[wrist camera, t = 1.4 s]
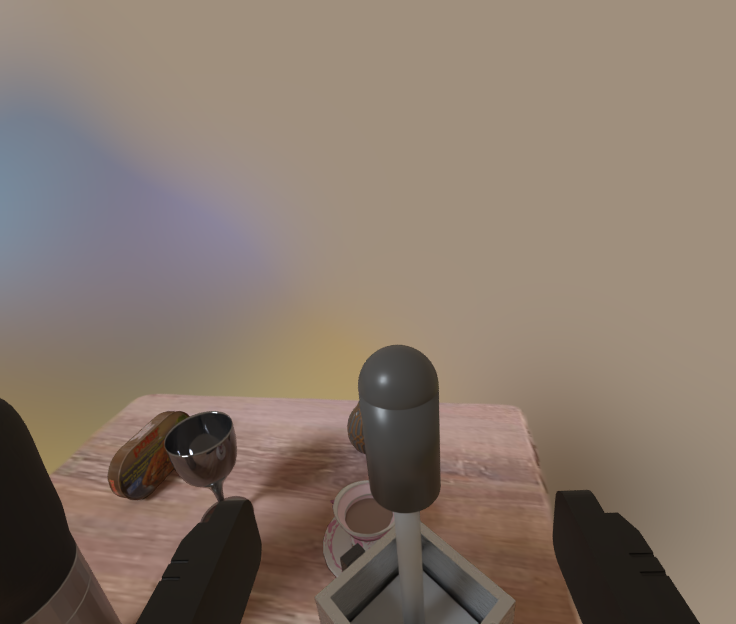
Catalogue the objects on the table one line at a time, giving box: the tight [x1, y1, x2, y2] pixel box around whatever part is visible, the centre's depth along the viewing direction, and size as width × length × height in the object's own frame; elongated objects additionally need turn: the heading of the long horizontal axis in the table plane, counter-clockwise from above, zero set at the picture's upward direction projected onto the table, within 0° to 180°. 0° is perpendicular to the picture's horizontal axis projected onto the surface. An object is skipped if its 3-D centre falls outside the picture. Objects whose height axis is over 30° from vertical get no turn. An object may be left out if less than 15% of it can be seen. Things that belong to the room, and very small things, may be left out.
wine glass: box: [164, 411, 253, 523], centre depth 53 cm, size 8×8×15 cm
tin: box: [108, 411, 190, 500], centre depth 63 cm, size 15×3×8 cm, turn 164°
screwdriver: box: [350, 345, 479, 624], centre depth 26 cm, size 8×8×25 cm
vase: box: [347, 400, 366, 454], centre depth 65 cm, size 7×7×9 cm
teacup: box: [323, 480, 395, 577], centre depth 50 cm, size 12×12×6 cm
